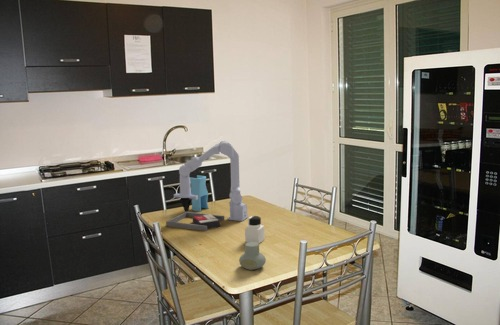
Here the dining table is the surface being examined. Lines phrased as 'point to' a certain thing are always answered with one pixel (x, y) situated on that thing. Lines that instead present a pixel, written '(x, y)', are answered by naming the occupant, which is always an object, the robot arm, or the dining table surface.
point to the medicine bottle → (254, 230)
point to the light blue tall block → (199, 193)
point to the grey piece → (174, 223)
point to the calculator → (207, 221)
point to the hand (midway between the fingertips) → (186, 211)
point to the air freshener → (252, 257)
